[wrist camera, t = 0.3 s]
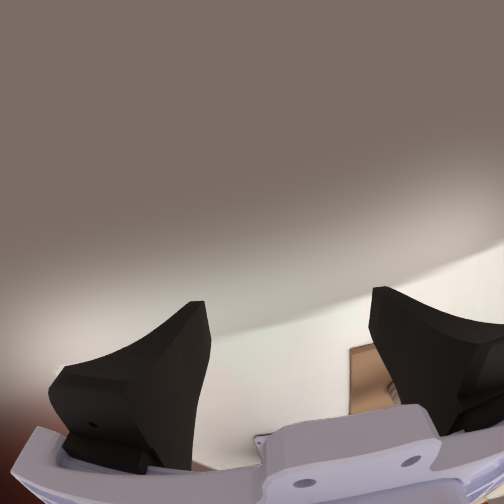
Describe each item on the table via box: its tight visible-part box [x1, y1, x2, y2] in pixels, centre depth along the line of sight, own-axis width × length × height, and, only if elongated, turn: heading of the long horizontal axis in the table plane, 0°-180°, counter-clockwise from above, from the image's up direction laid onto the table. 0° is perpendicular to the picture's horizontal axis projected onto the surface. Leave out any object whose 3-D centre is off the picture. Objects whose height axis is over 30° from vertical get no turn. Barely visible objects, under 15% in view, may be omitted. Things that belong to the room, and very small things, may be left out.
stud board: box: [350, 343, 401, 415], centre depth 24 cm, size 12×10×4 cm
